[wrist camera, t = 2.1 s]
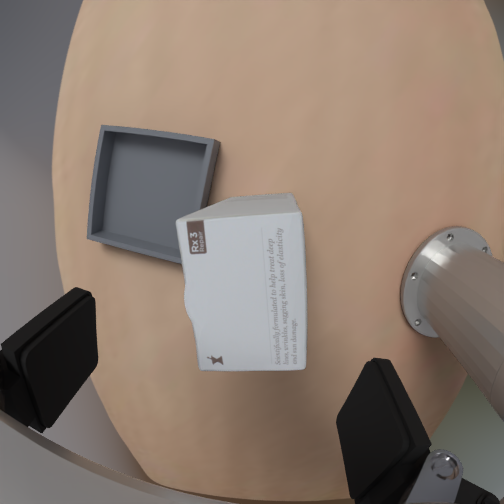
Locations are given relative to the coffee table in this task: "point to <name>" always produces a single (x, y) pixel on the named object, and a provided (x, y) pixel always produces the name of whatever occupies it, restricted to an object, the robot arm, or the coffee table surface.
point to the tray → (148, 187)
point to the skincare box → (246, 283)
